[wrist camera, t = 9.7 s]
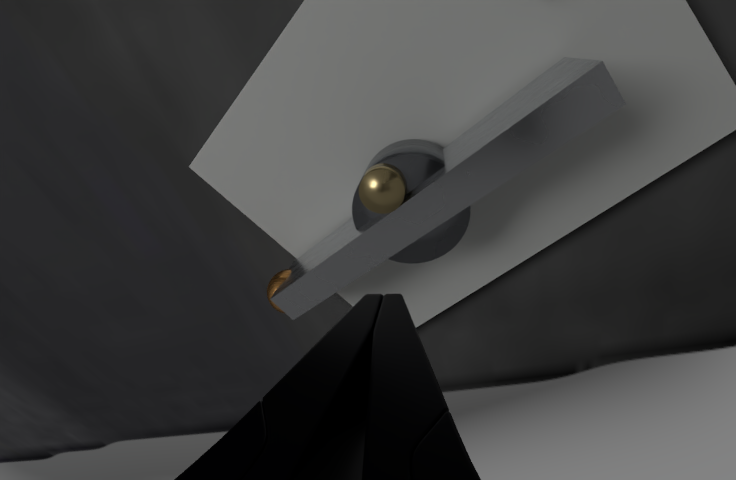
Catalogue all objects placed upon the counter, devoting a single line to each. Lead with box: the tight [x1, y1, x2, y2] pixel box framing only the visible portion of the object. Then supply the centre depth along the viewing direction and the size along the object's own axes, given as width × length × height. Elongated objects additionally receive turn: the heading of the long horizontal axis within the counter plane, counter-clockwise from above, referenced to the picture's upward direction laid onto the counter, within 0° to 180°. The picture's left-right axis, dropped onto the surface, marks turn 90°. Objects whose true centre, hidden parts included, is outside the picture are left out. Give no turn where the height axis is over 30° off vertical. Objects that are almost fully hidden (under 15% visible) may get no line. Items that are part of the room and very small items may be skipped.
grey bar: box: [267, 57, 626, 320], centre depth 16 cm, size 5×18×4 cm, turn 131°
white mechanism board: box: [189, 0, 736, 327], centre depth 16 cm, size 20×16×4 cm
